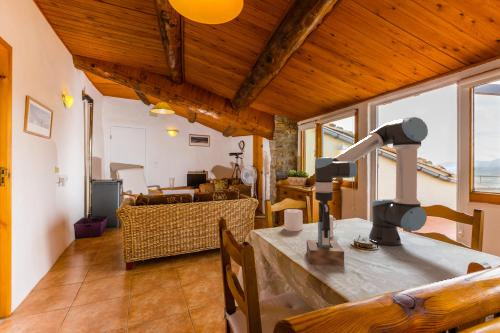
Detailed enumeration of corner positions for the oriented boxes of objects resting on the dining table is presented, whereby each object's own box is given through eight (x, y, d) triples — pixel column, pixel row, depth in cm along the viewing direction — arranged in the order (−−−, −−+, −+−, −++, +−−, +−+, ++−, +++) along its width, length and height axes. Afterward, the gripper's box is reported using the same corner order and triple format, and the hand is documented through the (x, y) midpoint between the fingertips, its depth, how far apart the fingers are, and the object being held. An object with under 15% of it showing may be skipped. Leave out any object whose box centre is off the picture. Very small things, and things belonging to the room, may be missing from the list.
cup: (284, 231, 152) (284, 212, 152) (284, 226, 163) (284, 208, 163) (303, 231, 150) (302, 212, 150) (302, 226, 161) (301, 209, 161)
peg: (328, 256, 110) (327, 222, 110) (330, 260, 105) (329, 224, 105) (318, 256, 110) (317, 221, 110) (319, 260, 106) (319, 224, 106)
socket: (336, 253, 114) (336, 240, 114) (344, 265, 100) (344, 251, 100) (306, 251, 116) (306, 239, 116) (310, 264, 102) (310, 250, 102)
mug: (333, 232, 147) (333, 213, 147) (341, 236, 139) (341, 216, 139) (315, 234, 144) (315, 214, 144) (323, 238, 136) (323, 217, 136)
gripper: (312, 189, 118) (312, 234, 118) (318, 194, 98) (319, 249, 98) (327, 189, 117) (328, 235, 117) (337, 194, 97) (337, 250, 97)
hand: (324, 241), depth 108 cm, fingers open, 7 cm apart
